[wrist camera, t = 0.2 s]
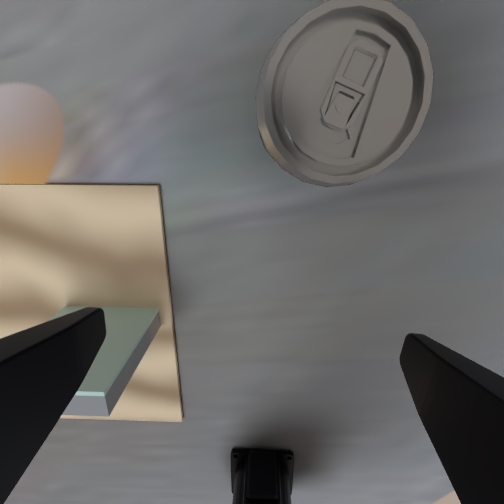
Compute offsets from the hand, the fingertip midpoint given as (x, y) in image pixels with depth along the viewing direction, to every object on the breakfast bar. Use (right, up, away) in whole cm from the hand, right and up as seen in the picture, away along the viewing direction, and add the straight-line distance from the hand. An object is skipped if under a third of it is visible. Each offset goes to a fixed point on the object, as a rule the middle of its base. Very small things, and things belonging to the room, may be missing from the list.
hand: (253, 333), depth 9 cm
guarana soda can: (+3, +11, +11) cm, 16 cm away
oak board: (-17, -3, +17) cm, 25 cm away
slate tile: (-12, -3, +16) cm, 20 cm away
